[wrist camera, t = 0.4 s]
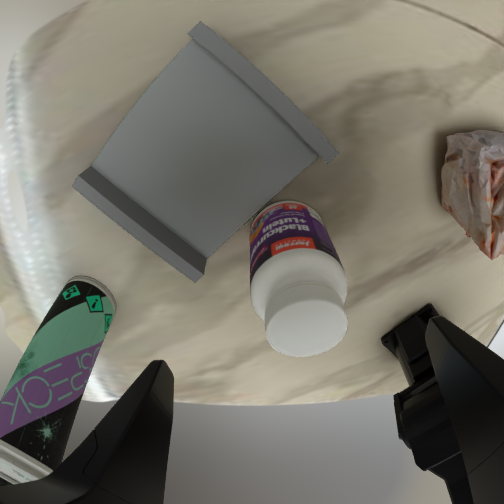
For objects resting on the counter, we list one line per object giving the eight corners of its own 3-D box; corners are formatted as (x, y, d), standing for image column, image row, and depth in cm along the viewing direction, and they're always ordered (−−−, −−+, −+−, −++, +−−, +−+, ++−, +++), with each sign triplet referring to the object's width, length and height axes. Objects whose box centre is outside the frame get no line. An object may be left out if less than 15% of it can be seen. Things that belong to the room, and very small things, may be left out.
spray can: (113, 327, 28) (54, 521, 11) (65, 309, 26) (-12, 486, 9) (119, 288, 25) (38, 515, 8) (65, 267, 24) (-41, 468, 7)
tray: (329, 144, 19) (339, 153, 17) (198, 264, 24) (194, 282, 22) (205, 27, 15) (200, 21, 13) (86, 175, 19) (71, 186, 18)
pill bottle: (295, 183, 20) (329, 266, 12) (336, 237, 23) (378, 333, 14) (233, 228, 22) (226, 327, 14) (277, 275, 24) (291, 378, 16)
